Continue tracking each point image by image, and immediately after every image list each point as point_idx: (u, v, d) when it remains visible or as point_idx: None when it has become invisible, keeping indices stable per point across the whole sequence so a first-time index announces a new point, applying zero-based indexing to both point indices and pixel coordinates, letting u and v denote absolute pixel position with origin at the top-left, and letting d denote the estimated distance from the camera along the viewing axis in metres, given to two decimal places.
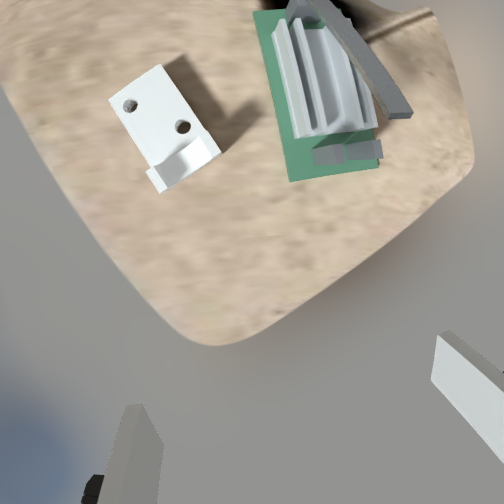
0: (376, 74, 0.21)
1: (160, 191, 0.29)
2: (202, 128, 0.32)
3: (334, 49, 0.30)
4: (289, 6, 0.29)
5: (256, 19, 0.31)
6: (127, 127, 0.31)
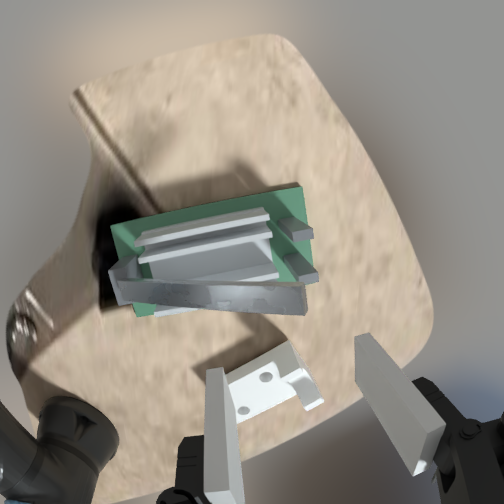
0: (247, 301, 0.23)
1: (323, 401, 0.36)
2: (269, 364, 0.38)
3: None
4: None
5: (146, 314, 0.38)
6: (261, 411, 0.40)
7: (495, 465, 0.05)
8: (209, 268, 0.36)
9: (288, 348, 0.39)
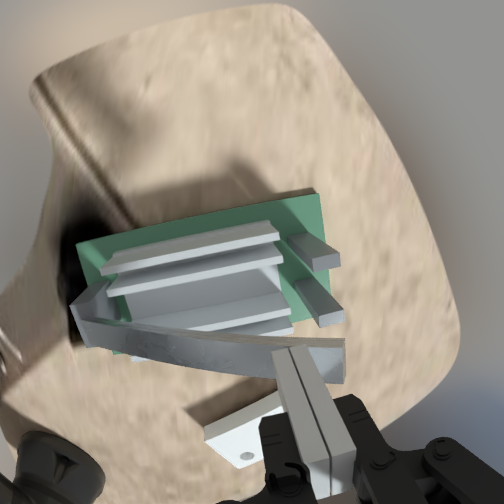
0: (259, 364, 0.15)
1: None
2: (278, 408, 0.30)
3: None
4: None
5: None
6: None
7: (419, 492, 0.05)
8: (200, 300, 0.28)
9: None
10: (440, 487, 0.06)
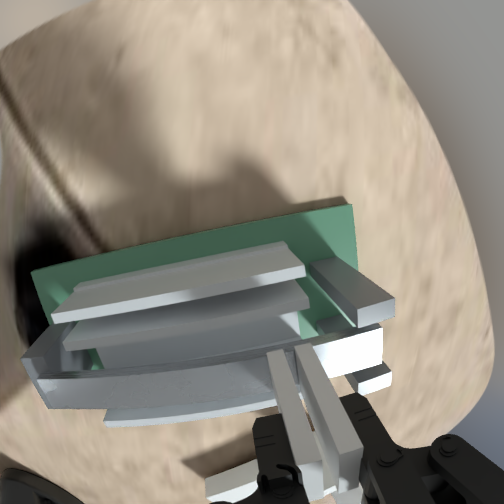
0: None
1: None
2: None
3: None
4: None
5: None
6: None
7: (425, 489, 0.05)
8: (192, 349, 0.20)
9: None
10: (445, 484, 0.06)
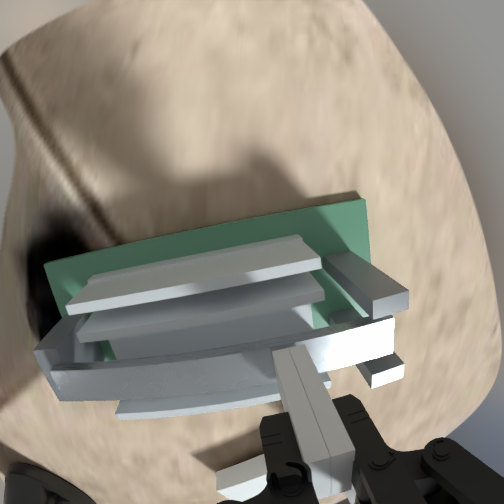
0: (315, 359, 0.15)
1: None
2: None
3: None
4: None
5: None
6: None
7: (418, 492, 0.05)
8: (205, 341, 0.20)
9: None
10: (439, 488, 0.06)
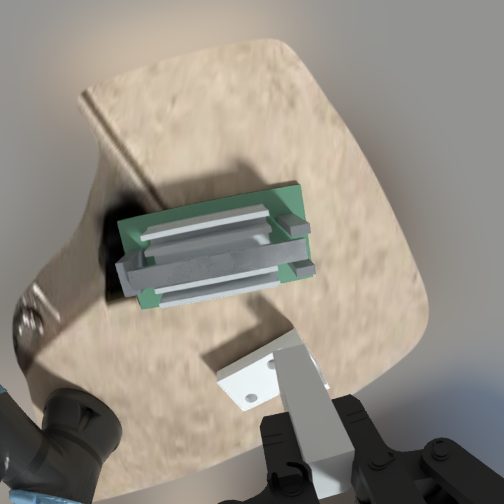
0: (266, 258, 0.32)
1: (328, 387, 0.38)
2: None
3: None
4: None
5: (150, 306, 0.40)
6: (268, 398, 0.42)
7: (417, 493, 0.05)
8: None
9: (295, 335, 0.41)
10: (439, 488, 0.06)
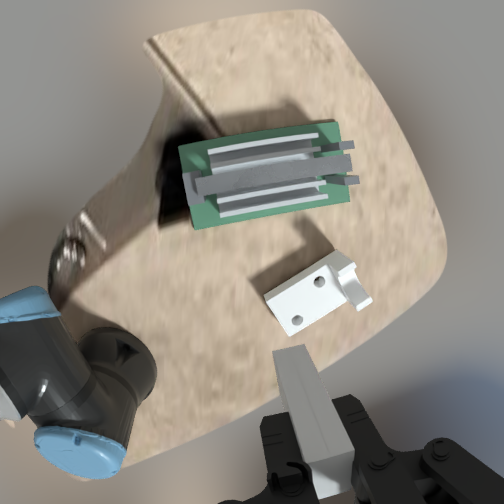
0: (319, 168, 0.36)
1: (371, 301, 0.42)
2: (322, 267, 0.44)
3: (240, 163, 0.39)
4: None
5: (203, 227, 0.44)
6: (313, 320, 0.46)
7: (417, 493, 0.05)
8: None
9: (338, 254, 0.45)
10: (439, 488, 0.06)
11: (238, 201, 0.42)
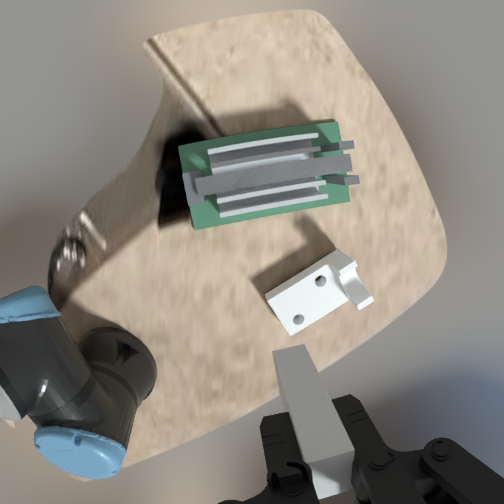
0: (319, 168, 0.36)
1: (372, 300, 0.42)
2: (324, 266, 0.44)
3: (240, 163, 0.39)
4: None
5: (203, 227, 0.44)
6: (314, 320, 0.46)
7: (417, 492, 0.06)
8: None
9: (339, 253, 0.45)
10: (439, 488, 0.06)
11: (238, 201, 0.42)
